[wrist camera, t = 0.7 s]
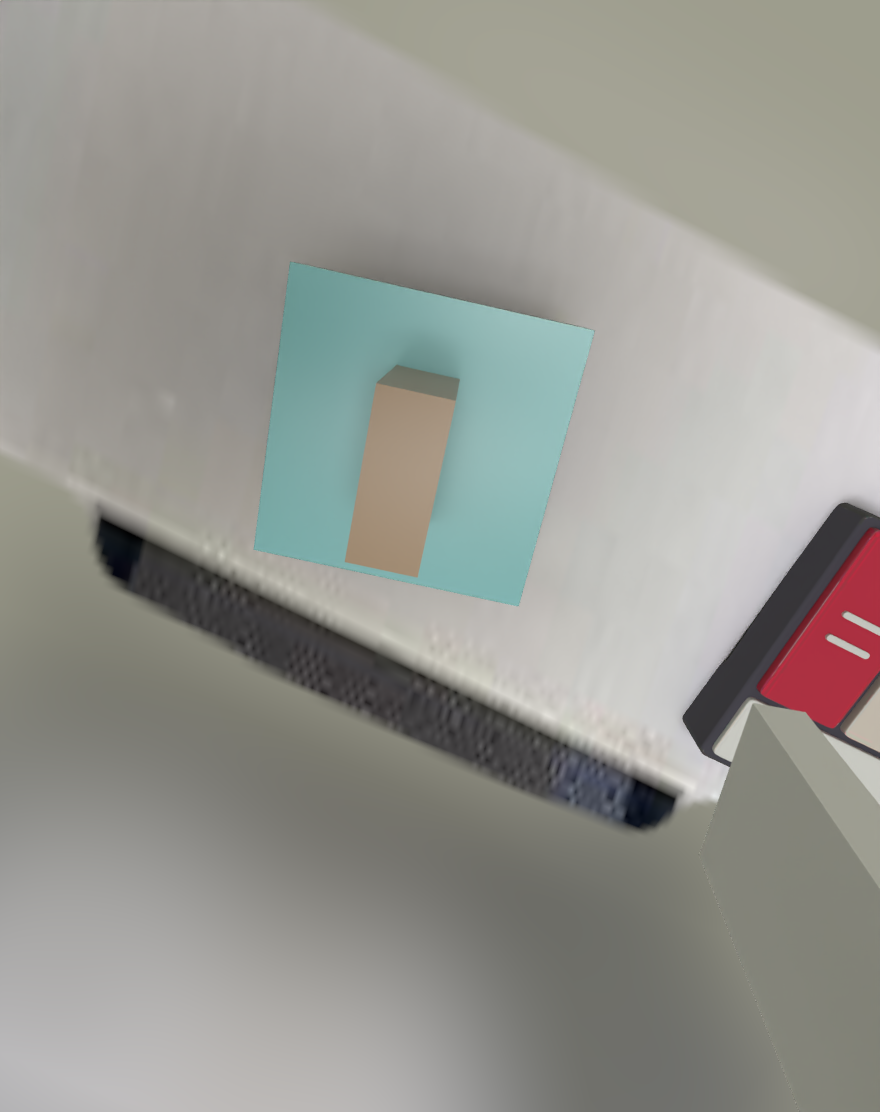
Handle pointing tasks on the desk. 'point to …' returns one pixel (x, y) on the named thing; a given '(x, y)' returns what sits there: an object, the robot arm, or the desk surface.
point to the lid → (414, 433)
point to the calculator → (810, 651)
